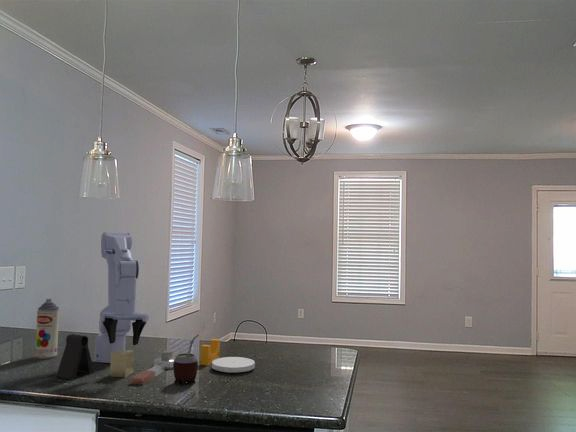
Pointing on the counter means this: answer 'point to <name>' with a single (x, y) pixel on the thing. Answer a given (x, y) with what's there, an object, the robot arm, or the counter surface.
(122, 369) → the tan rectangular block
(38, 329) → the aerosol can
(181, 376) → the mate gourd
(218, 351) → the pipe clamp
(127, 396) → the counter surface
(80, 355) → the phone stand
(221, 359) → the plastic lid
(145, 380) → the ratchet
